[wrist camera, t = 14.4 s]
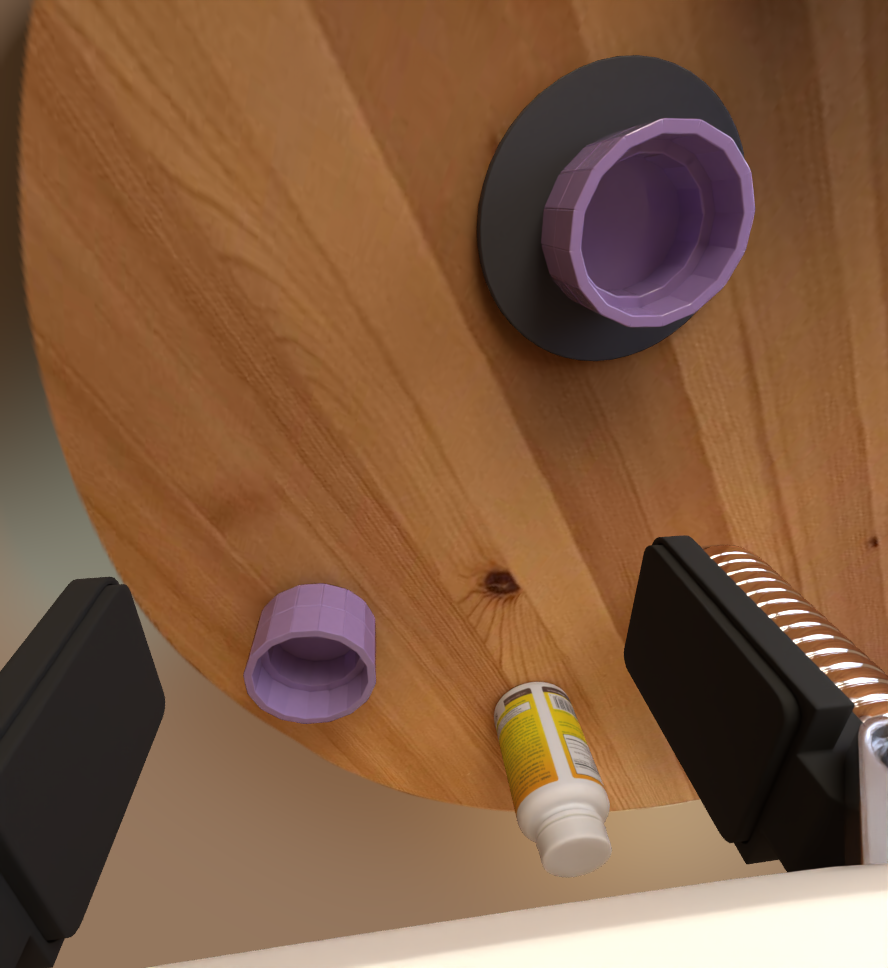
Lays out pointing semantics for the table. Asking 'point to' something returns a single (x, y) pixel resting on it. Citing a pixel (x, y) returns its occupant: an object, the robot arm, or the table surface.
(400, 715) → the table surface
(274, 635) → the dish
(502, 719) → the supplement bottle
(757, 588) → the water bottle
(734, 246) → the dish
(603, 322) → the coaster
